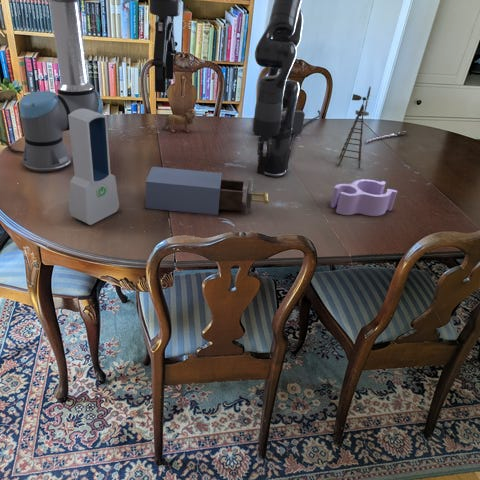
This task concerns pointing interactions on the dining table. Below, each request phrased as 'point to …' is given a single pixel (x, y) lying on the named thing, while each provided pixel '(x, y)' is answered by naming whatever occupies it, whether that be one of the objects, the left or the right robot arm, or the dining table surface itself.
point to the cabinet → (183, 190)
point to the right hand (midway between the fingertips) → (260, 173)
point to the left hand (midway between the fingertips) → (164, 85)
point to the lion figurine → (181, 120)
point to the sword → (384, 137)
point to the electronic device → (91, 168)
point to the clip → (363, 198)
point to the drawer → (237, 195)
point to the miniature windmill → (359, 113)
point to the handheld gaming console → (297, 121)
